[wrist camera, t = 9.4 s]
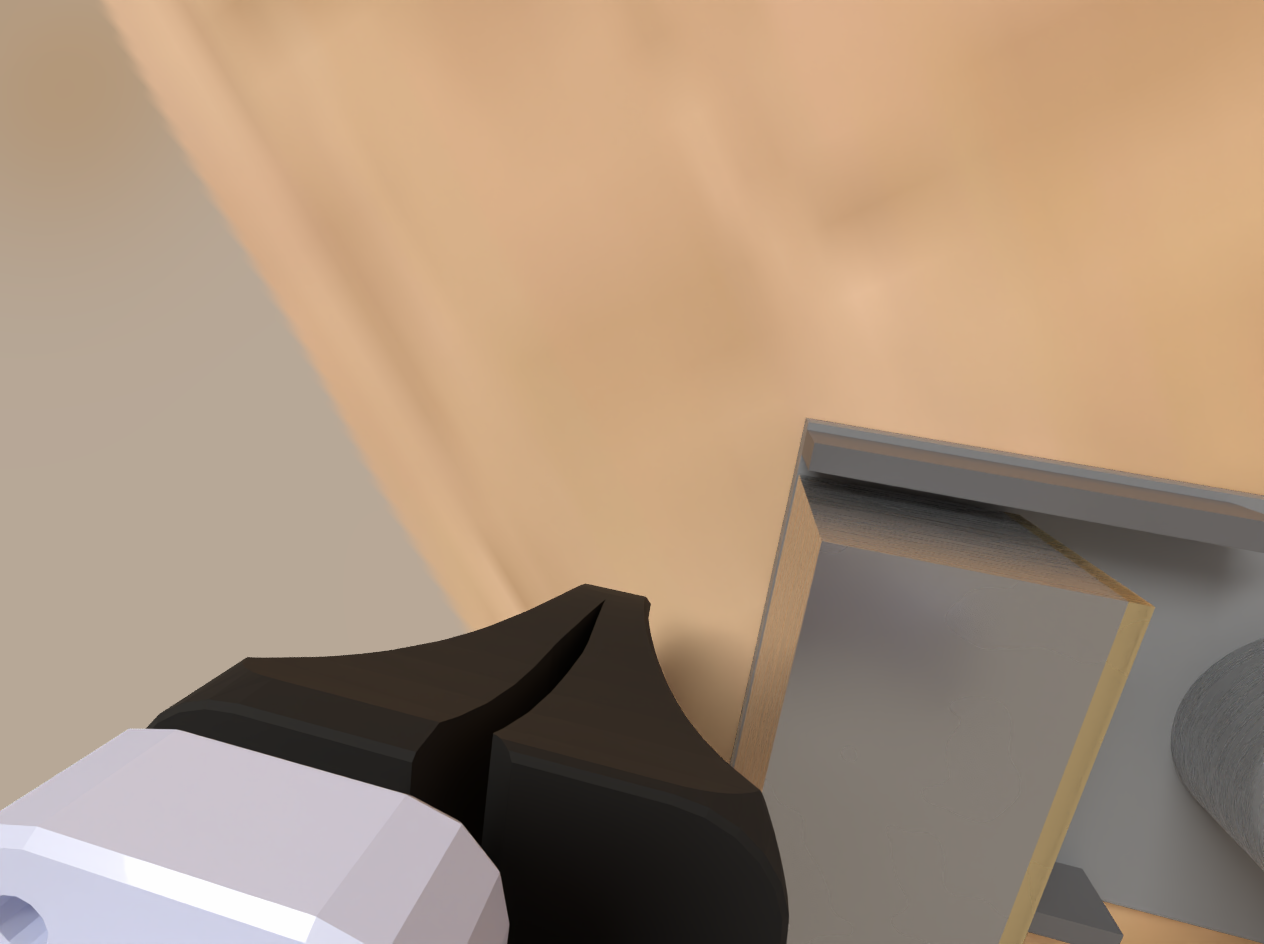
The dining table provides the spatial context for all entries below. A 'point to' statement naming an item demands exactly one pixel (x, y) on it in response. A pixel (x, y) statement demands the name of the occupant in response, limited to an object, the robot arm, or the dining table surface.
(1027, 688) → the block
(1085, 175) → the dining table surface
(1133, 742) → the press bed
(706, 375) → the dining table surface
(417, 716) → the robot arm
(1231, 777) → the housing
